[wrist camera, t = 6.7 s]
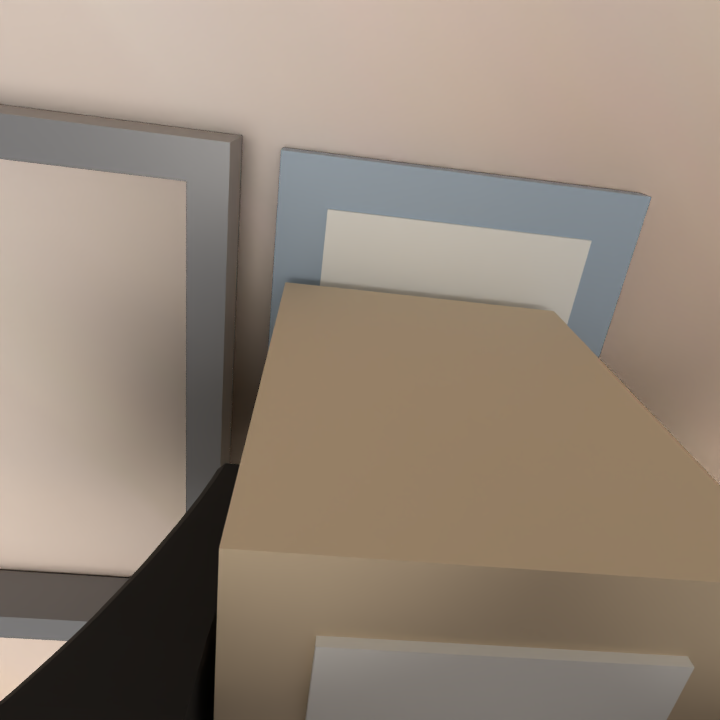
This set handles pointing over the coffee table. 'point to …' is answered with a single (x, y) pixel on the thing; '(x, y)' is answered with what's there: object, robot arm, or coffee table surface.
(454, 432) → the box
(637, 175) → the coffee table surface
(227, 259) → the grey square frame
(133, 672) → the robot arm
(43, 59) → the coffee table surface
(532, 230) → the pad
